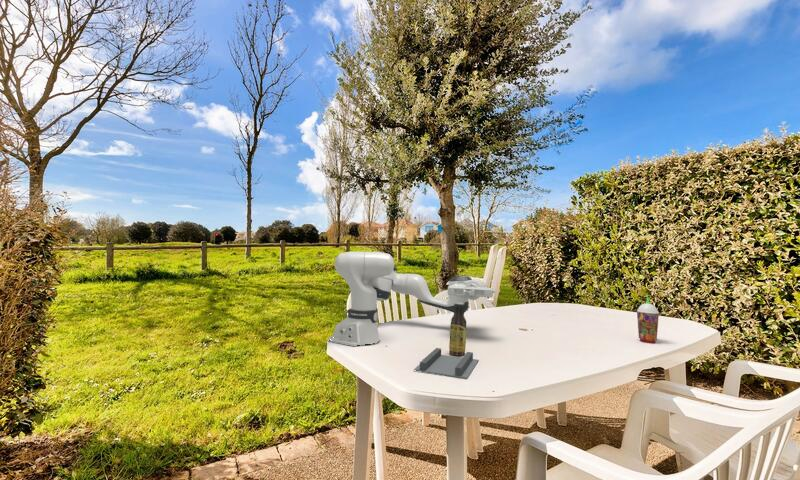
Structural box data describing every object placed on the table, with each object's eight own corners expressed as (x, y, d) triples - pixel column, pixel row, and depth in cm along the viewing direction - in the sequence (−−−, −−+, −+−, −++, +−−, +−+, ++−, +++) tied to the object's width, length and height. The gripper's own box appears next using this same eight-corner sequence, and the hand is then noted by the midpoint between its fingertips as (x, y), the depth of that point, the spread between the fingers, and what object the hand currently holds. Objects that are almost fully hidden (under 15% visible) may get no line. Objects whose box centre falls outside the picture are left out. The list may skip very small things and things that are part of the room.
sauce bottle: (446, 355, 141) (447, 303, 141) (452, 351, 146) (452, 301, 147) (463, 357, 138) (463, 304, 138) (468, 353, 143) (468, 302, 144)
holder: (413, 371, 122) (413, 362, 122) (431, 354, 141) (431, 347, 141) (467, 379, 115) (467, 369, 115) (478, 361, 134) (478, 352, 134)
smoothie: (640, 343, 162) (640, 298, 163) (634, 338, 170) (634, 295, 171) (662, 344, 160) (662, 299, 160) (654, 340, 168) (655, 296, 168)
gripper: (495, 298, 167) (491, 302, 155) (451, 295, 175) (444, 299, 162) (495, 284, 168) (491, 287, 155) (451, 282, 175) (444, 284, 162)
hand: (467, 293), depth 159 cm, fingers closed
